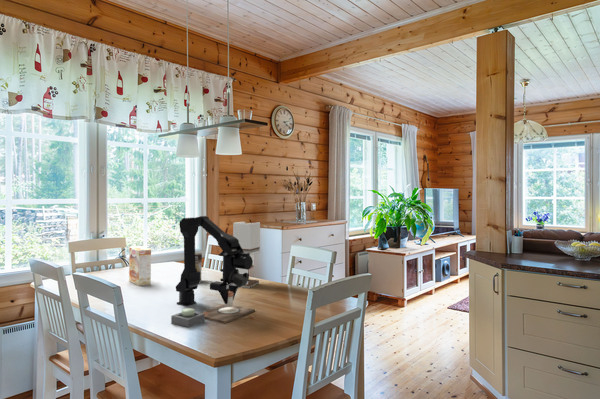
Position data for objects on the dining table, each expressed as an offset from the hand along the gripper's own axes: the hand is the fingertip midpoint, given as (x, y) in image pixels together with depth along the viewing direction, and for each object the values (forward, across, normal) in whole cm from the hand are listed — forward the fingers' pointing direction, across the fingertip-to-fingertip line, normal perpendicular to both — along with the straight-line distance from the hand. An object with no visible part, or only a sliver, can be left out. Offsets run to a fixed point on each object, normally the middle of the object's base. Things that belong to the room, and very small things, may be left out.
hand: (228, 302), depth 175 cm
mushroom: (+1, 0, 0) cm, 1 cm away
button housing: (+4, -19, +5) cm, 20 cm away
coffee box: (+4, +35, +55) cm, 65 cm away
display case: (+4, +45, +25) cm, 52 cm away
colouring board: (+4, -2, 0) cm, 5 cm away
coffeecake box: (+5, +16, +77) cm, 79 cm away
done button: (+1, -19, +5) cm, 20 cm away
